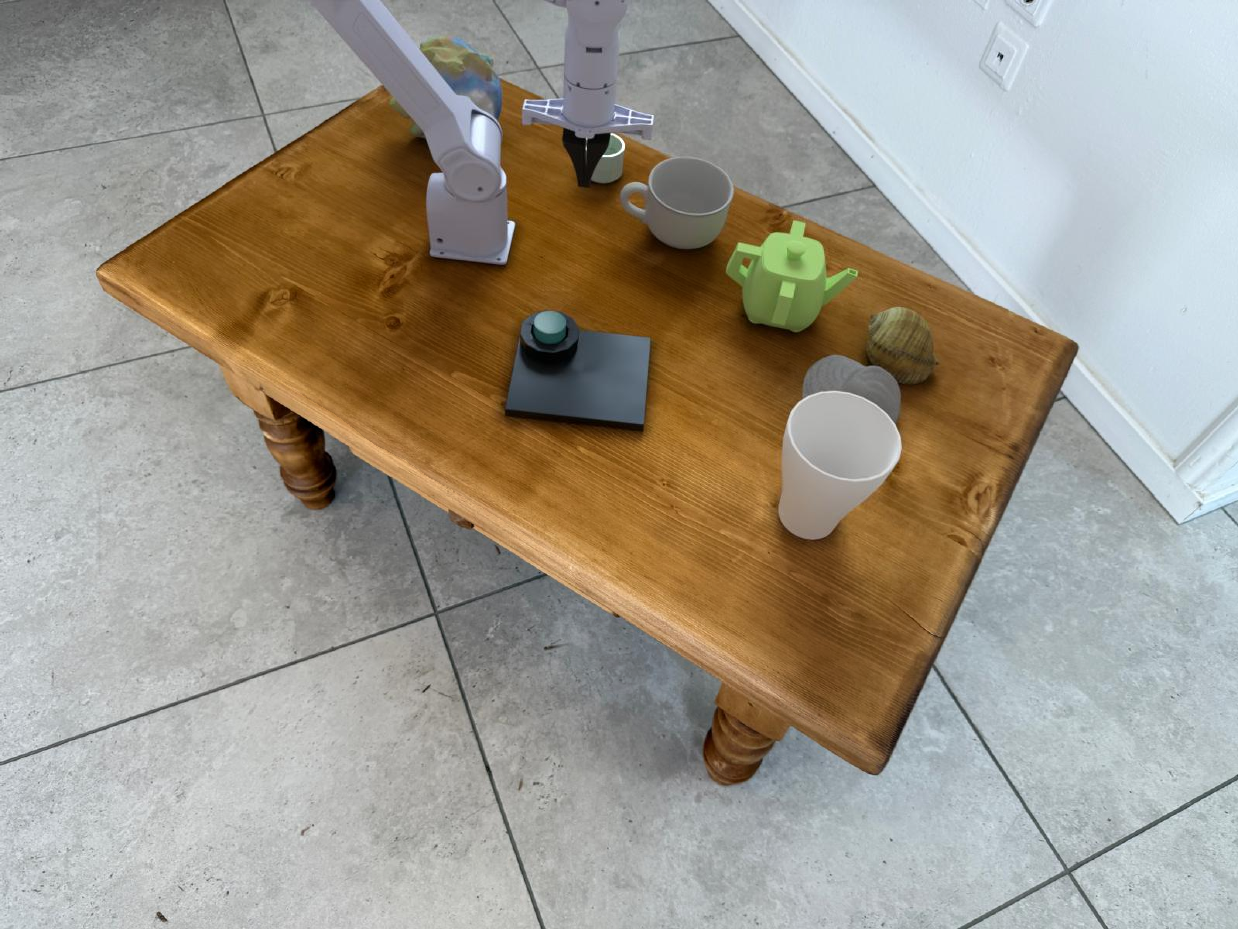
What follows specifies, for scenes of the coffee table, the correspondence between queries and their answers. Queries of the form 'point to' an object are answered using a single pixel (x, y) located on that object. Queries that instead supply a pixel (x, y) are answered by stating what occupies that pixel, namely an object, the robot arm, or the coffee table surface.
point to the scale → (580, 378)
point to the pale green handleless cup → (610, 161)
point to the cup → (833, 460)
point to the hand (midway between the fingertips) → (584, 182)
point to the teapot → (786, 279)
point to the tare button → (549, 327)
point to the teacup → (683, 201)
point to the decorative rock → (461, 75)
